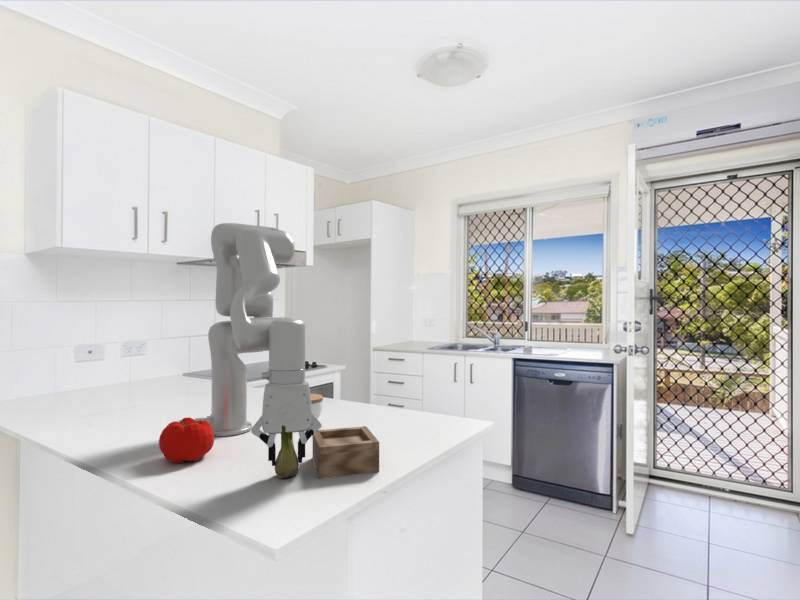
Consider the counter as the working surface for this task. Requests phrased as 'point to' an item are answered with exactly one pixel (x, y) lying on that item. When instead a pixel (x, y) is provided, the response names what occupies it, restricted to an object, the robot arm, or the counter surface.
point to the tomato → (186, 440)
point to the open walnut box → (345, 451)
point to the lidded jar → (316, 404)
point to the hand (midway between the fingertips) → (286, 461)
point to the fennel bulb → (286, 456)
